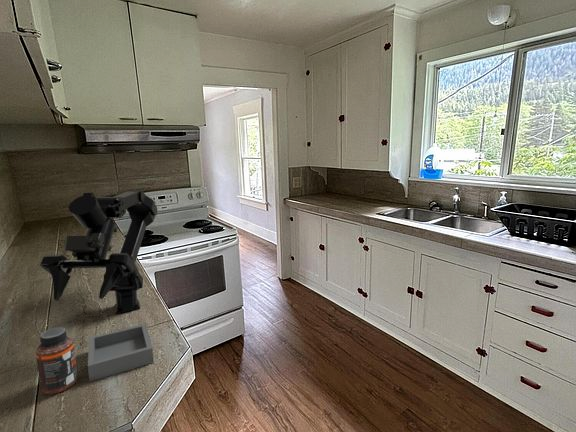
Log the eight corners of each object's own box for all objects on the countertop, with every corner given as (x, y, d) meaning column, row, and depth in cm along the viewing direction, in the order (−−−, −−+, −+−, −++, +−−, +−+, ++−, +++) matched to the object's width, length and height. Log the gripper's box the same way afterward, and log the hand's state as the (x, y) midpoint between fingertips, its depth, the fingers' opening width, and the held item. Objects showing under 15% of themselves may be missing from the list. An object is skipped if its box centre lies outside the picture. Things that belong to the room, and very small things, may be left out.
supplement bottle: (82, 383, 62) (75, 331, 60) (45, 400, 58) (36, 345, 56) (73, 370, 66) (66, 321, 64) (38, 385, 62) (30, 332, 60)
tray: (90, 350, 73) (89, 337, 73) (146, 336, 79) (145, 323, 79) (89, 381, 63) (87, 366, 62) (153, 362, 69) (152, 348, 68)
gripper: (39, 220, 70) (8, 286, 61) (126, 219, 72) (108, 283, 63) (64, 245, 79) (40, 305, 70) (141, 244, 81) (127, 302, 72)
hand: (78, 299), depth 69 cm, fingers open, 9 cm apart
